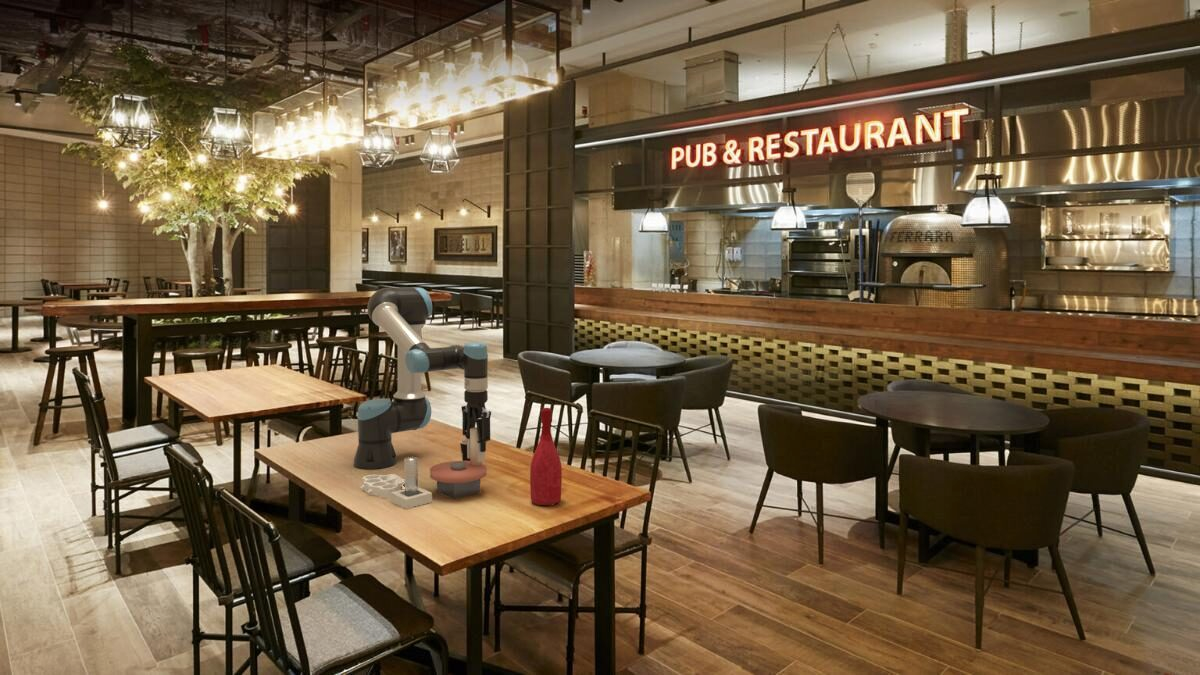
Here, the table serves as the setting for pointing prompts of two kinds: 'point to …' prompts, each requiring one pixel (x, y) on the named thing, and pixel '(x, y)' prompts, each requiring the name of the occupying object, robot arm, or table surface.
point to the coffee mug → (464, 450)
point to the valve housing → (458, 489)
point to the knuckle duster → (382, 484)
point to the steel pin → (411, 476)
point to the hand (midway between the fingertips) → (476, 459)
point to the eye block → (411, 498)
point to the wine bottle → (545, 466)
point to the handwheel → (461, 466)
